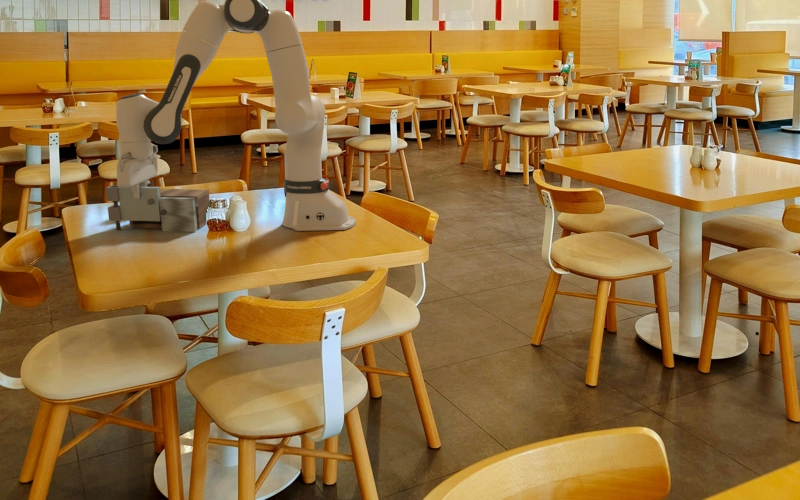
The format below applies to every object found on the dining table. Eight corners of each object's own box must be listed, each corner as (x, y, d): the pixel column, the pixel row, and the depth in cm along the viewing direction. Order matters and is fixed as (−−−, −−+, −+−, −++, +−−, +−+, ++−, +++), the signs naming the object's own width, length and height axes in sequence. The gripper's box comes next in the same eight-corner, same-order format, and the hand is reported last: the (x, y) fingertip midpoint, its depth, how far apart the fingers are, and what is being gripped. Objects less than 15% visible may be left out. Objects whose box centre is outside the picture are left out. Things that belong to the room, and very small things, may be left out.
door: (163, 219, 235) (160, 186, 232) (158, 222, 231) (155, 188, 229) (114, 218, 237) (111, 185, 234) (108, 221, 233) (104, 188, 230)
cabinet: (211, 221, 246) (208, 189, 243) (193, 233, 231) (190, 200, 228) (135, 219, 248) (132, 188, 245) (113, 231, 234) (109, 198, 231)
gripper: (130, 156, 218) (135, 204, 222) (159, 145, 238) (163, 190, 241) (108, 155, 219) (113, 204, 223) (139, 145, 238) (144, 190, 242)
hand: (140, 196), depth 232 cm, fingers closed on door, 2 cm apart
